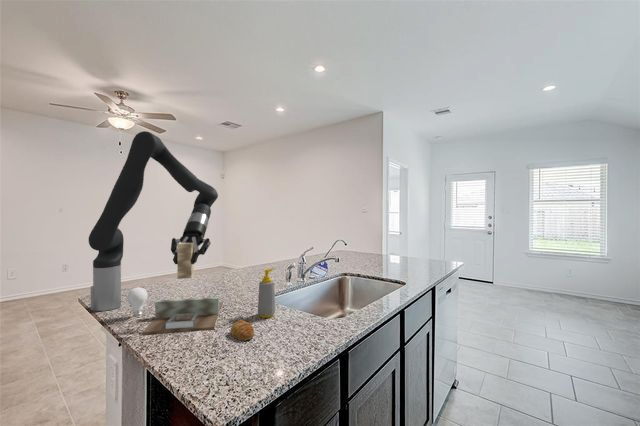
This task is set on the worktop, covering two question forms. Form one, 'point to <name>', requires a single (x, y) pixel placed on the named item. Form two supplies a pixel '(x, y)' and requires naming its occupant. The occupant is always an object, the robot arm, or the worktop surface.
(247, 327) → the pastry
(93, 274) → the robot arm
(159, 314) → the door mockup
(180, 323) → the keeper socket
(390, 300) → the worktop surface
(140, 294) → the light bulb
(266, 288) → the soap bottle
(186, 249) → the block
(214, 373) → the worktop surface
